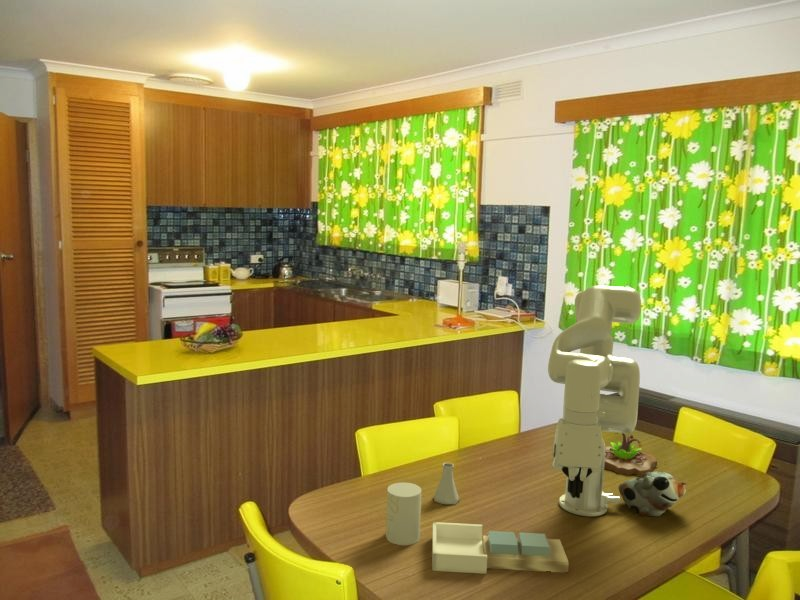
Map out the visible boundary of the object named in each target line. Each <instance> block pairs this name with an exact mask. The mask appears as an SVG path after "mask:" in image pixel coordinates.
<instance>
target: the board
mask: <svg viewBox="0 0 800 600" xmlns="http://www.w3.org/2000/svg"><path fill="white" fill-rule="evenodd" d="M515 537H516V540H517V544H518V550H517V555H516V554H498V553H490V548H489V543H488V535H483V534H482V545H483V551H484V554H485V555H487V569H497V570H510V571H511V570H514V571H531V572H532V571H533V572H546V571H551V572H550V573H564V572H568V573H569V563H570V562H569V559H568V556H567V554H566V552H565V549H564V547H563V544H562V542H561V539H558V538H557V539H556V538H546V539H547V542H548V545H549V556H534V555H522V554H521V550H520V546H519V543H518V536H515Z"/></svg>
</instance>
